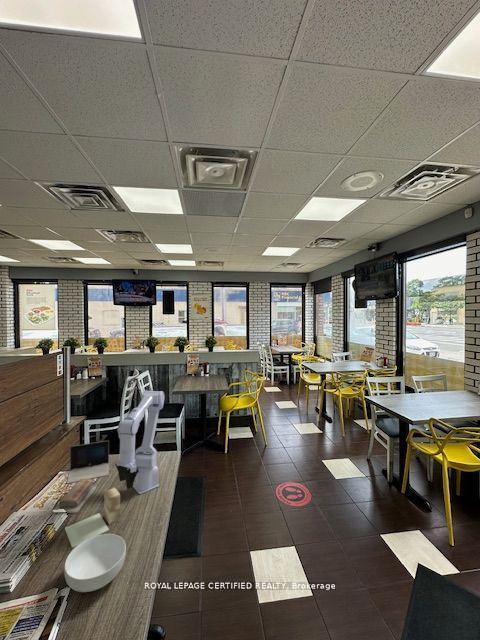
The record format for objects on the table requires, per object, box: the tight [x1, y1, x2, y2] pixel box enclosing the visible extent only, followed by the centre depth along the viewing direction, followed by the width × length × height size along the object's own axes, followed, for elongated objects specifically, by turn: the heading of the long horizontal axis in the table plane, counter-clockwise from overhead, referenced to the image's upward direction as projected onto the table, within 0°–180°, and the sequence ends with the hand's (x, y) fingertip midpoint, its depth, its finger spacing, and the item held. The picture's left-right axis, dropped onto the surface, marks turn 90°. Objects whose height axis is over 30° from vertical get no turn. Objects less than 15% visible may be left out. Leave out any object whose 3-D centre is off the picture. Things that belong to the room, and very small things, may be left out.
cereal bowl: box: [63, 533, 127, 593], centre depth 86 cm, size 17×17×7 cm
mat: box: [64, 512, 110, 549], centre depth 105 cm, size 12×12×1 cm
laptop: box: [66, 440, 110, 484], centre depth 143 cm, size 18×12×13 cm
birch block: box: [103, 487, 121, 525], centre depth 111 cm, size 4×6×10 cm, turn 42°
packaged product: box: [52, 479, 98, 514], centre depth 123 cm, size 18×5×10 cm
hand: (126, 484), depth 114 cm, fingers open, 7 cm apart
